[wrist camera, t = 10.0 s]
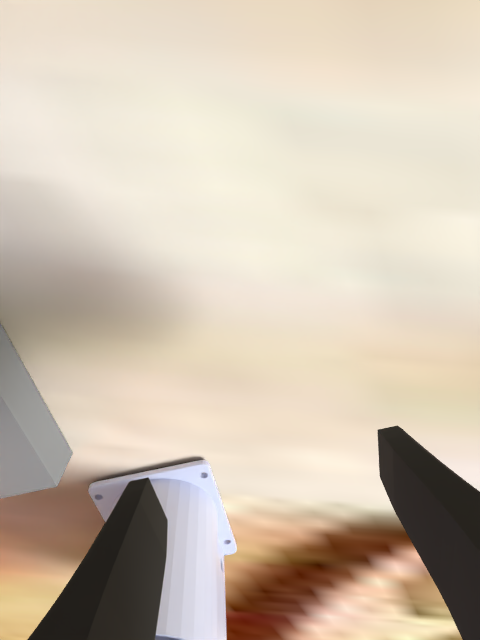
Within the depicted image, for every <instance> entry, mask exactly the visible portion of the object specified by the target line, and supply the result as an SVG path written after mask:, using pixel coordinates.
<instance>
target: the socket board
mask: <svg viewBox="0 0 480 640" xmlns="http://www.w3.org/2000/svg"><path fill="white" fill-rule="evenodd" d="M72 454H73V452H72V450H71V449H70V447H69V445H68V443H67V441H66V440H65V438H64V436H63V434H62V432H61V431H60V429H59V427H58V425H57V424H56V422H55V420H54V418H53V416H52V415H51V413H50V411H49V409H48V407H47V406H46V404H45V402H44V400H43V398H42V397H41V395H40V393H39V391H38V389H37V388H36V386H35V384H34V382H33V380H32V379H31V377H30V375H29V373H28V371H27V370H26V368H25V366H24V364H23V362H22V361H21V359H20V357H19V355H18V353H17V352H16V350H15V348H14V346H13V345H12V343H11V341H10V339H9V337H8V336H7V334H6V332H5V330H4V328H3V327H2V325H1V323H0V499H1V498H6V497H10V496H15V495H20V494H25V493H30V492H34V491H39V490H44V489H49V488H54V487H57V486H58V484H59V482H60V479H61V477H62V475H63V473H64V471H65V469H66V467H67V464H68V462H69V460H70V458H71V456H72Z"/></svg>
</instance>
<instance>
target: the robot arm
mask: <svg viewBox="0 0 480 640" xmlns="http://www.w3.org/2000/svg"><path fill="white" fill-rule="evenodd" d="M378 447H379V468H380V478H381V480H382V483H383V485H384V487H385V490H386V492H387V495H388V497H389V499H390V501H391V504H392V506H393V508H394V510H395V512H396V514H397V516H398V518H399V520H400V521H401V523H402V525H403V527H404V529H405V530H406V532H407V534H408V536H409V538H410V539H411V541H412V543H413V545H414V547H415V548H416V550H417V552H418V554H419V556H420V557H421V559H422V561H423V563H424V564H425V566H426V568H427V570H428V572H429V573H430V575H431V577H432V579H433V581H434V582H435V584H436V586H437V588H438V589H439V591H440V593H441V595H442V597H443V599H444V601H445V603H446V605H447V607H448V609H449V611H450V613H451V615H452V617H453V619H454V622H455V624H456V626H457V628H458V630H459V632H460V634H461V637H462V639H463V640H480V492H479V491H478V490H477V489H475V488H474V487H473V486H471V485H470V484H469V483H467V482H466V481H465V480H463V479H462V478H461V477H460V476H458V475H457V474H456V473H454V472H453V471H452V470H451V469H449V468H448V467H447V466H445V465H444V464H443V463H442V462H441V461H439V460H438V459H437V458H436V457H434V456H433V455H432V454H431V453H430V452H428V451H427V450H426V449H425V448H424V447H422V446H421V445H420V444H419V443H418V442H417V441H415V440H414V439H413V438H412V437H411V436H410V435H408V434H407V433H406V432H405V431H404V430H403V429H402V428H400V427H399V426H394V427H389V428H384V429H379V430H378ZM88 493H89V495H90V496H91V498H92V500H93V502H94V503H95V505H96V507H97V509H98V510H99V512H100V514H101V516H102V517H103V519H104V521H105V524H104V526H103V528H102V530H101V531H100V533H99V534H98V536H97V538H96V539H95V541H94V543H93V544H92V546H91V548H90V549H89V551H88V553H87V554H86V556H85V558H84V559H83V561H82V562H81V564H80V565H79V567H78V568H77V570H76V571H75V573H74V574H73V576H72V578H71V579H70V581H69V582H68V584H67V585H66V587H65V588H64V590H63V591H62V593H61V594H60V596H59V597H58V598H57V600H56V601H55V603H54V604H53V606H52V607H51V609H50V610H49V611H48V613H47V614H46V615H45V617H44V618H43V620H42V621H41V622H40V624H39V625H38V626H37V628H36V629H35V630H34V632H33V633H32V634H31V636H30V637H29V638H28V640H227V639H226V605H225V571H224V556H225V555H230V554H233V553H235V552H236V551H237V544H236V541H235V538H234V535H233V532H232V529H231V526H230V524H229V521H228V518H227V515H226V512H225V509H224V506H223V503H222V500H221V497H220V494H219V491H218V488H217V485H216V482H215V479H214V476H213V473H212V470H211V467H210V464H209V462H207V461H205V460H199V461H194V462H189V463H184V464H179V465H174V466H170V467H165V468H160V469H155V470H150V471H146V472H141V473H136V474H131V475H126V476H122V477H117V478H112V479H107V480H102V481H97V482H94V483H91V484H90V486H89V489H88ZM99 494H100V495H99Z"/></svg>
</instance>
